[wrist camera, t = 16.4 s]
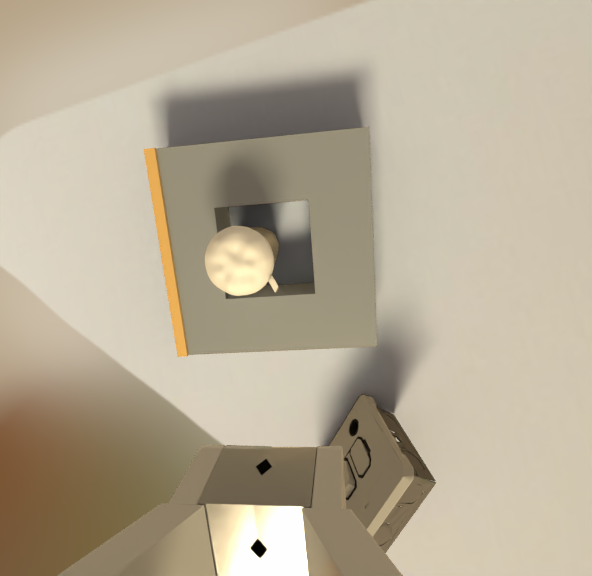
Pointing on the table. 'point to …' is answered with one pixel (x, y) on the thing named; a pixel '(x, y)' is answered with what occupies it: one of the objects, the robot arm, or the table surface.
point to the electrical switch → (381, 471)
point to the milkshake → (242, 259)
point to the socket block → (261, 190)
